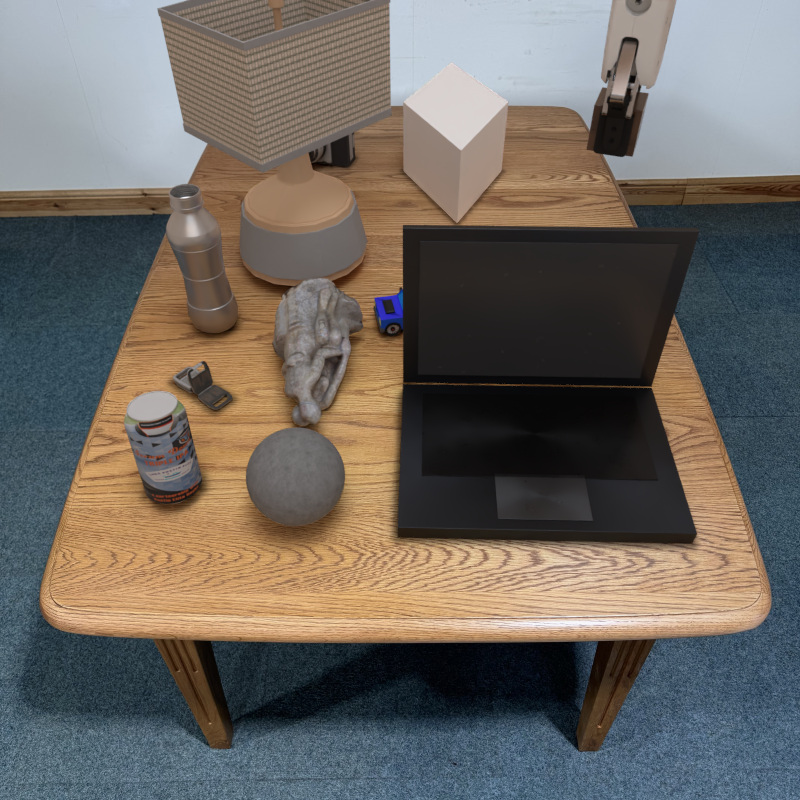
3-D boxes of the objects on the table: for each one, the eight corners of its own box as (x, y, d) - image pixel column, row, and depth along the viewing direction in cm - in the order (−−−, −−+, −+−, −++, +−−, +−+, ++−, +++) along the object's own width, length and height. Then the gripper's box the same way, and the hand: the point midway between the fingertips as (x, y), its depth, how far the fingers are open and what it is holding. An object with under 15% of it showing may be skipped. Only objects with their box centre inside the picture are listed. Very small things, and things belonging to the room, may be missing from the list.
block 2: (638, 137, 75) (648, 92, 72) (632, 157, 72) (642, 111, 69) (594, 131, 76) (602, 86, 73) (586, 150, 73) (594, 104, 70)
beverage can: (148, 518, 76) (116, 442, 68) (146, 466, 81) (116, 389, 73) (209, 505, 77) (184, 429, 69) (203, 455, 82) (180, 378, 74)
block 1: (493, 127, 141) (499, 62, 133) (511, 223, 117) (519, 150, 108) (403, 127, 141) (403, 62, 133) (402, 223, 117) (402, 150, 108)
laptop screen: (700, 231, 73) (698, 227, 73) (402, 228, 74) (402, 224, 74) (651, 387, 87) (650, 383, 88) (402, 383, 88) (403, 379, 88)
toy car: (372, 311, 101) (371, 281, 97) (456, 300, 102) (458, 271, 99) (381, 341, 96) (380, 312, 93) (468, 329, 98) (471, 300, 94)
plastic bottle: (232, 341, 96) (202, 207, 82) (184, 337, 97) (146, 203, 83) (247, 312, 101) (221, 179, 87) (201, 307, 101) (167, 175, 87)
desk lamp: (290, 320, 99) (250, 36, 73) (209, 265, 109) (148, -4, 83) (400, 255, 110) (399, -12, 84) (317, 210, 120) (293, -42, 94)
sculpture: (350, 457, 89) (254, 440, 85) (352, 343, 99) (267, 324, 95) (380, 408, 80) (276, 388, 77) (379, 290, 91) (287, 267, 87)
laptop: (692, 543, 74) (697, 533, 72) (397, 537, 74) (397, 526, 73) (648, 398, 88) (652, 386, 87) (403, 394, 89) (402, 382, 88)
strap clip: (171, 382, 91) (163, 357, 88) (190, 369, 92) (183, 344, 89) (216, 413, 87) (209, 387, 84) (235, 399, 89) (229, 373, 86)
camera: (268, 167, 130) (260, 112, 123) (286, 147, 136) (279, 93, 129) (341, 177, 127) (337, 122, 120) (356, 156, 133) (353, 102, 126)
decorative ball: (366, 508, 77) (363, 446, 70) (290, 563, 72) (277, 502, 65) (310, 455, 82) (301, 392, 75) (235, 503, 77) (218, 441, 70)
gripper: (694, -36, 54) (640, 187, 67) (709, -85, 66) (660, 114, 78) (593, -44, 56) (560, 174, 69) (625, -90, 68) (591, 105, 80)
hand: (613, 140), depth 74 cm, fingers closed on block 2, 4 cm apart
